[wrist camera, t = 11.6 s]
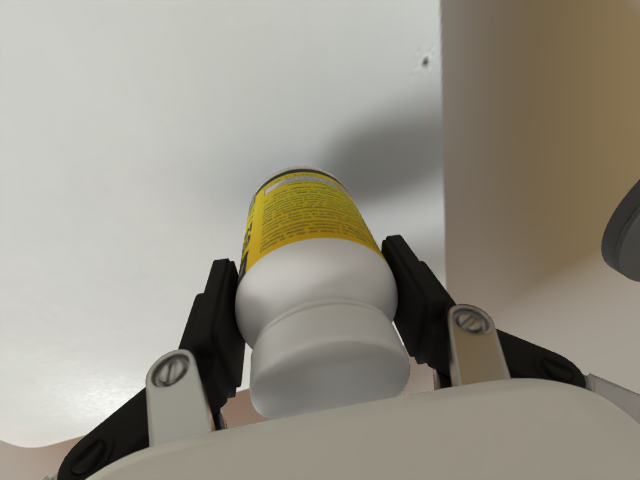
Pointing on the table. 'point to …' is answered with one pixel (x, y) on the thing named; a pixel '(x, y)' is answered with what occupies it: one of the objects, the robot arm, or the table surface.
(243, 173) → the table surface
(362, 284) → the pill bottle
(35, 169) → the table surface
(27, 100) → the table surface
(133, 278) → the table surface
